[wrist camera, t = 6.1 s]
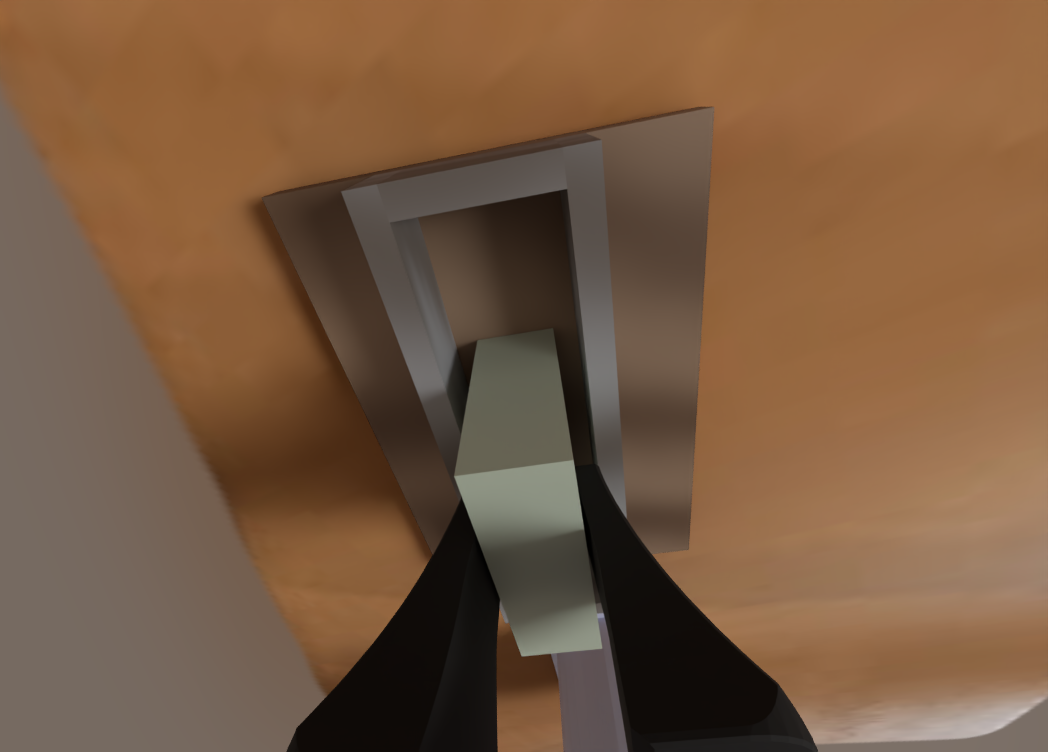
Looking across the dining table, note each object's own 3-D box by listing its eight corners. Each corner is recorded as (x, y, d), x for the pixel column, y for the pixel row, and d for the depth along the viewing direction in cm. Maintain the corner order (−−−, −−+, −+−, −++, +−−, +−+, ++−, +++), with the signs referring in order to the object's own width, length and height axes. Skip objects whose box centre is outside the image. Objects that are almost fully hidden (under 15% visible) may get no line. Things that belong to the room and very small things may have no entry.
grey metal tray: (681, 531, 21) (708, 602, 18) (446, 560, 22) (435, 630, 19) (699, 106, 11) (764, 107, 8) (278, 191, 12) (203, 218, 9)
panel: (578, 495, 18) (602, 648, 13) (520, 502, 18) (521, 656, 13) (552, 327, 14) (573, 460, 9) (477, 340, 14) (454, 476, 9)
